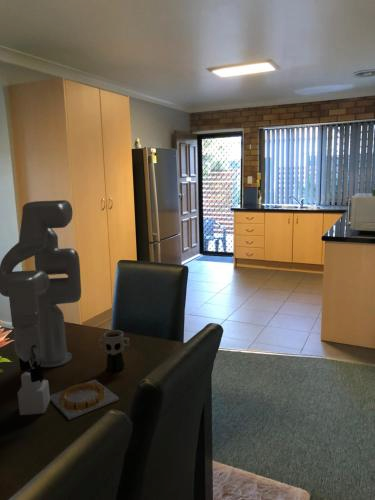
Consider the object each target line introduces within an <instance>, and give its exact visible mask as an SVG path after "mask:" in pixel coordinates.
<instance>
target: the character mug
mask: <svg viewBox="0 0 375 500" xmlns="http://www.w3.org/2000/svg"><path fill="white" fill-rule="evenodd" d="M102 337H103V338H101V339H98V340H97V341H98V342H97V343H98V344H97V345H98V348H99V349H104V352H105V353H106V354H107V355H106V356H107V357H106V369H107V370H108V371H111V372H112V371H114V369H115V371H120V370H122V369H124V367H125V362H124V361H125V360H124V356H123V353H122V352H123V351H125V347H130V337H124V332H123V331H122V330H118V329H117V330H110V331H109V330H108V331H105V332H104V333H103V334H102ZM125 341H126V343H125ZM102 343H103V344H102Z"/></svg>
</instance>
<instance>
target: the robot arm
mask: <svg viewBox="0 0 375 500" xmlns="http://www.w3.org/2000/svg"><path fill="white" fill-rule="evenodd" d="M21 211H22V213H21V214H22V215H21V222H20V228H19V229H20V230H19V236H18V238H19V239H18V242H17V243H16V244H14V245H13V246H12V247H11V248H10V249H9V251H8V252H6V254H4V256H3V257H2V259H1V261H0V295H2V296H3V297H6V298H7V297H8V300H9V301H8V302H9V309H10V316H11V318H10V319H11V326H12V328H13V341H14V342H13V343H14V352H15V354H16V355H17V357H18V362H19V369H20V371H21V372H23V371H25V370H27V369H29V368H31V369H30V375H31V382H36V381H39V380H42V379H43V380H44V372H43V368H55V367H60V366H63V365H65V364H67V363H69V362H70V361H71V360H72V353H71V352H69V351H68V350H67V338H66V327H65V317H64V313H63V311H62V309H61V308H60V307H59V306H58V305H64V304H74V303H77V302H79V301H80V299H81V297H82V281H81V263H80V257H79V253H78V251H77V250H76V249H74V248H70V247H69V248H67V247H66V248H65V247H64V248H59V237H58V235H57V233H56V232H55V230H54V229H64V228H66V227H67V226H68V225H69V224H70V223H71V221H72V219H73V207H72V204H71V203H70V202H69V201H68V200H66V199H65V200H64V199H63V200H62V199H61V200H57V199H56V200H37V201H30V202H26V203H24V205H23V206H22V210H21ZM33 256H34V269H35V270H18V271H17V270H16V271H15V268H16V267H17V266H18V265H20V263H22V262H24V261H26V260H28V259H30V258H32V257H33ZM13 270H14V271H13ZM51 275H53V276H55V275H65V276H67V277H55V278H54V277H53V278H50V277H49V276H51ZM42 372H43V373H42Z"/></svg>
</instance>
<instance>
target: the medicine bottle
mask: <svg viewBox="0 0 375 500" xmlns="http://www.w3.org/2000/svg"><path fill="white" fill-rule="evenodd" d="M30 369H31V368H29V369H27V370H24V371H21V373H20V381H21V382H20V383H21V387H20V388H19V390H18V392H17V394H16V395H17V403H18V411H19V416H27V415H40V414H41V415H43V414H45V412H46V411H47V408H48V407H49V405H50V402H51V401H50V395H51V394H50V386H49V380H48V379H44V378H43V379H42V380H39V381H36V382H31V375H30ZM42 373H43V374H44V372H43V371H42Z"/></svg>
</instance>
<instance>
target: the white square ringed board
mask: <svg viewBox="0 0 375 500" xmlns="http://www.w3.org/2000/svg"><path fill="white" fill-rule="evenodd" d="M119 400H120V399H119V396H118V395H116V394H115V393H113V392H112V391H111V390H110V389H108V388H107V387H106V386H105V385H103V384H102V383H100V381H98V380H97V379H96V378H95V379H92V380H89V381H86V382H82V383H81V382H80V383H77V384H75V385H72V386H71V385H70V386H69V387H67V388H66V389H63V390H60V391H57V392H55V393H52V394H50V402H51V404H53V405H54V407H56V408H57V409H58V411H60V412H61V413H62V415H63V416H64V417H66V418H67V420H68V421H70V420H72V419H75V418H78V417H80V416H83V415H85V414H88V413H90V412H92V411H95V410H98V409H101V408H102V407H105V406H107V405H110V404H112V403H115V402H117V401H119Z"/></svg>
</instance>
